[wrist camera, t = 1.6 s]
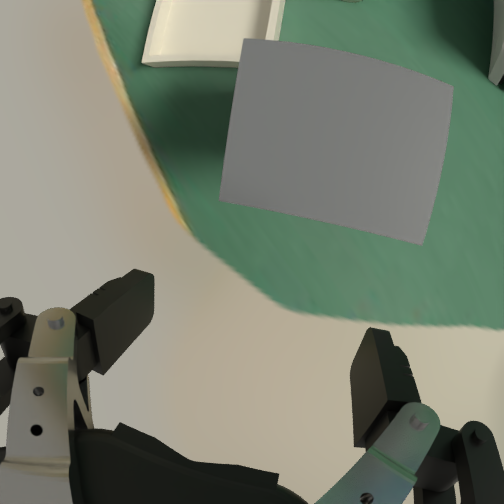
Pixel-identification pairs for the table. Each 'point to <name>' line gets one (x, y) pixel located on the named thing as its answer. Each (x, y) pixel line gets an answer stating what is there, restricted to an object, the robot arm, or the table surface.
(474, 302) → the table surface
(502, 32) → the white slotted rounded block
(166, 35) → the parts tray
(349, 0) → the white orange rounded cylinder
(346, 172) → the control box
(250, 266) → the table surface
